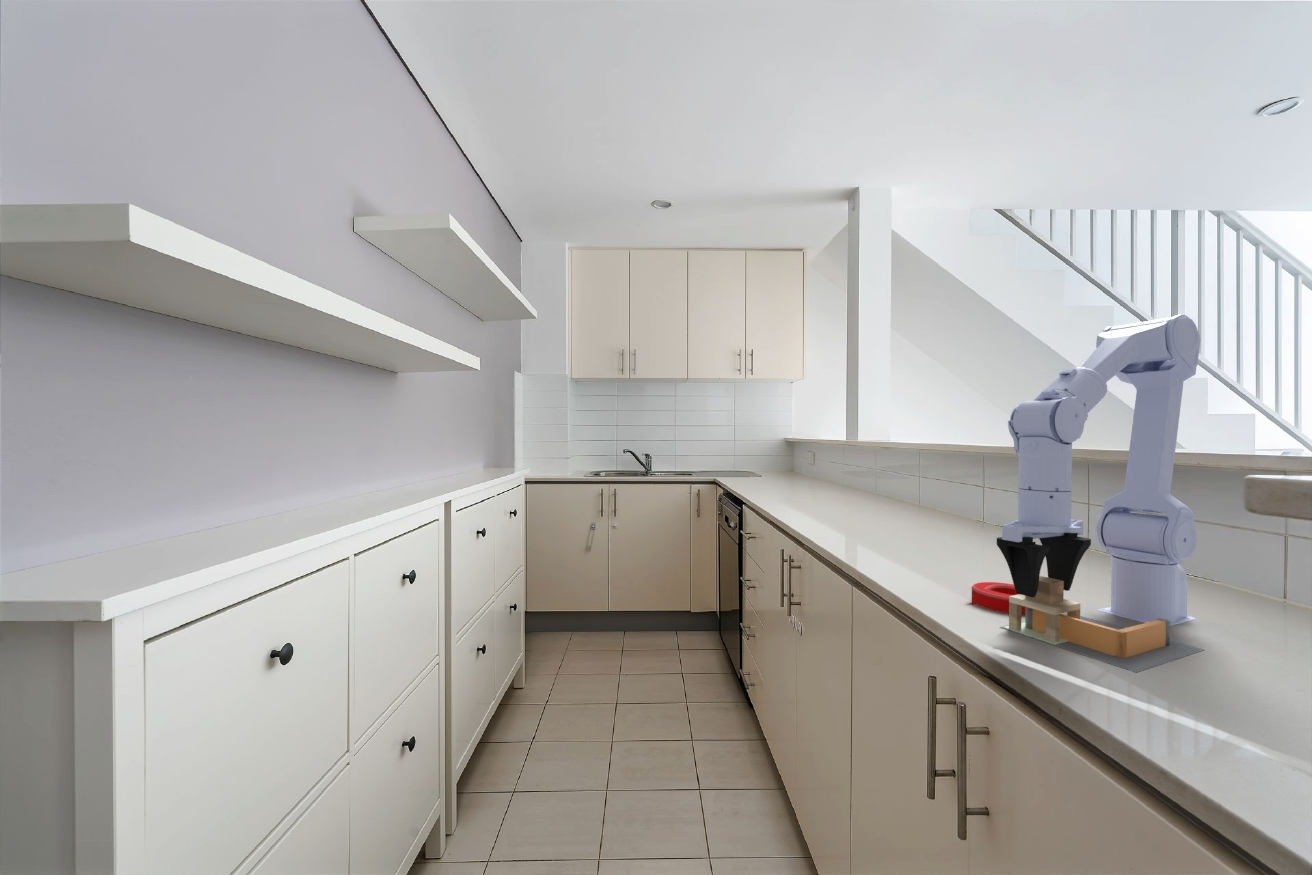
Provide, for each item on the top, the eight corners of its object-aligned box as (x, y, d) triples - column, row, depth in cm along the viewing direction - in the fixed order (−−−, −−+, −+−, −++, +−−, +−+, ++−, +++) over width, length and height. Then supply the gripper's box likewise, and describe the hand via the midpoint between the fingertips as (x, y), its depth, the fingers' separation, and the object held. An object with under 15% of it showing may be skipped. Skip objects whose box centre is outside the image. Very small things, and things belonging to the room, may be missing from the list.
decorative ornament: (957, 602, 86) (957, 582, 86) (1007, 599, 88) (1008, 580, 88) (1007, 622, 76) (1007, 600, 76) (1062, 618, 78) (1062, 597, 78)
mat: (1067, 616, 78) (1067, 612, 78) (1204, 654, 65) (1204, 649, 65) (999, 631, 72) (999, 627, 72) (1136, 677, 58) (1136, 672, 58)
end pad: (1031, 621, 74) (1031, 620, 74) (1084, 637, 68) (1084, 636, 68) (1003, 627, 72) (1003, 626, 72) (1055, 644, 66) (1055, 643, 66)
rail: (1070, 616, 76) (1071, 596, 76) (1171, 644, 66) (1171, 621, 66) (1023, 627, 72) (1023, 605, 72) (1124, 659, 61) (1124, 633, 61)
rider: (1034, 622, 74) (1034, 572, 74) (1080, 636, 68) (1080, 582, 68) (1008, 627, 71) (1009, 576, 71) (1054, 642, 66) (1055, 587, 66)
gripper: (1044, 494, 63) (1043, 607, 63) (1110, 491, 69) (1109, 593, 69) (986, 489, 70) (985, 591, 70) (1051, 486, 76) (1050, 580, 76)
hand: (1043, 591), depth 70 cm, fingers open, 7 cm apart
